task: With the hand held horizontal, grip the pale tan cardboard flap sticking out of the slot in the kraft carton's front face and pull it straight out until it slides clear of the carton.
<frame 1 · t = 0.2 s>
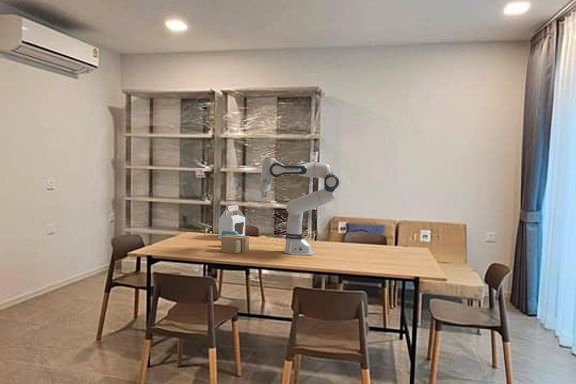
hand: (263, 197, 319), 39 cm above the table, tool pointing down, fingers open, 8 cm apart
flap: (239, 245, 307), point 6 cm above the table, slide at 0.0 cm
data package: (229, 247, 330), on the table
gable box: (231, 238, 366), on the table
carton: (234, 251, 313), on the table
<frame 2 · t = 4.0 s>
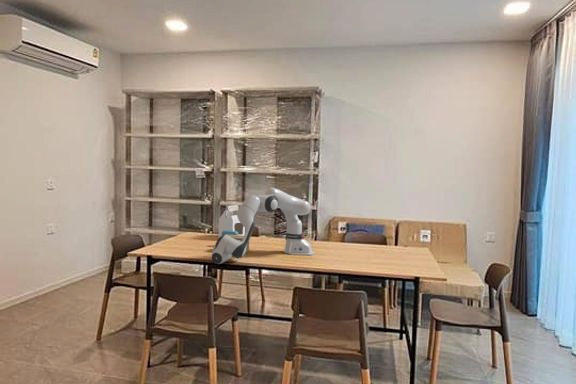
hand: (232, 249, 291), 6 cm above the table, tool horizontal, fingers open, 8 cm apart
nothing on the table moved.
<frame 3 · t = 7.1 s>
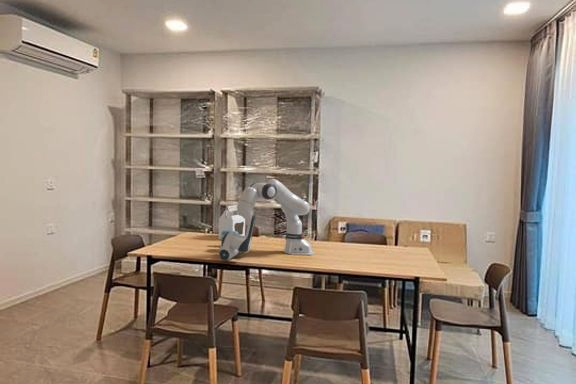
hand: (238, 246, 304), 6 cm above the table, tool horizontal, fingers closed, pressing on flap
flap: (239, 245, 307), point 6 cm above the table, slide at 0.0 cm, touching gripper
everything else where it was.
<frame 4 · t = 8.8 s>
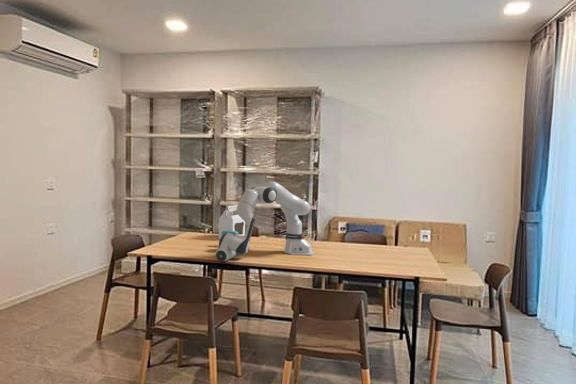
hand: (236, 247, 299), 6 cm above the table, tool horizontal, fingers closed on flap, 2 cm apart
flap: (237, 246, 302), point 6 cm above the table, slide at 5.1 cm, touching gripper
everything else where it was.
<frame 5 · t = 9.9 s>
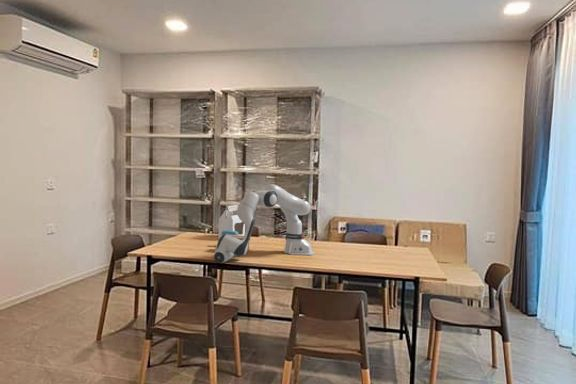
hand: (234, 248, 295), 6 cm above the table, tool horizontal, fingers closed on flap, 2 cm apart
flap: (235, 247, 298), point 6 cm above the table, slide at 9.0 cm, touching gripper
everything else where it was.
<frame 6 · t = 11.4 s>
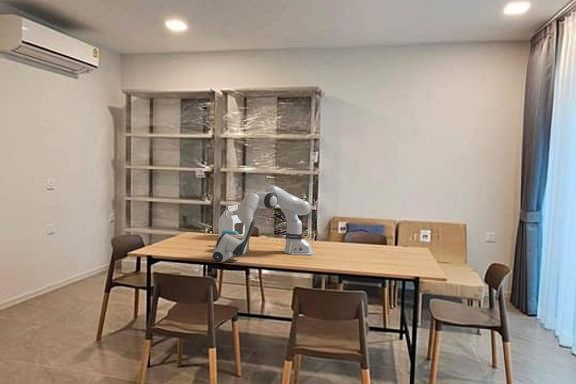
hand: (233, 248, 294), 6 cm above the table, tool horizontal, fingers open, 8 cm apart
flap: (235, 247, 298), point 6 cm above the table, slide at 9.3 cm
everything else where it was.
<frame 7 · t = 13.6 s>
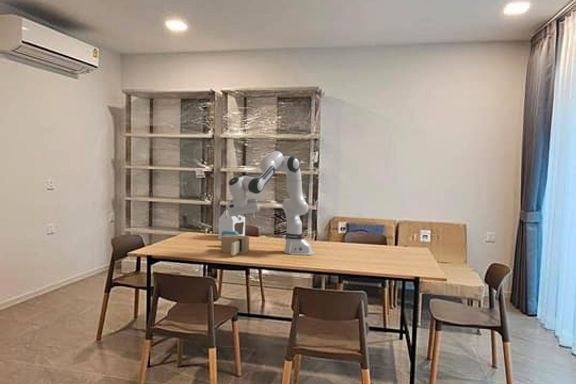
hand: (247, 218, 284), 28 cm above the table, tool tilted 30°, fingers open, 8 cm apart
nothing on the table moved.
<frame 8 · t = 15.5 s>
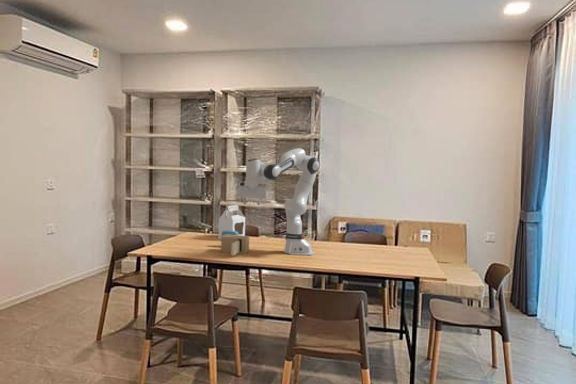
hand: (251, 204, 282), 37 cm above the table, tool pointing down, fingers open, 8 cm apart
nothing on the table moved.
at the end: flap slide at 9.3 cm; the gripper is holding nothing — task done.
